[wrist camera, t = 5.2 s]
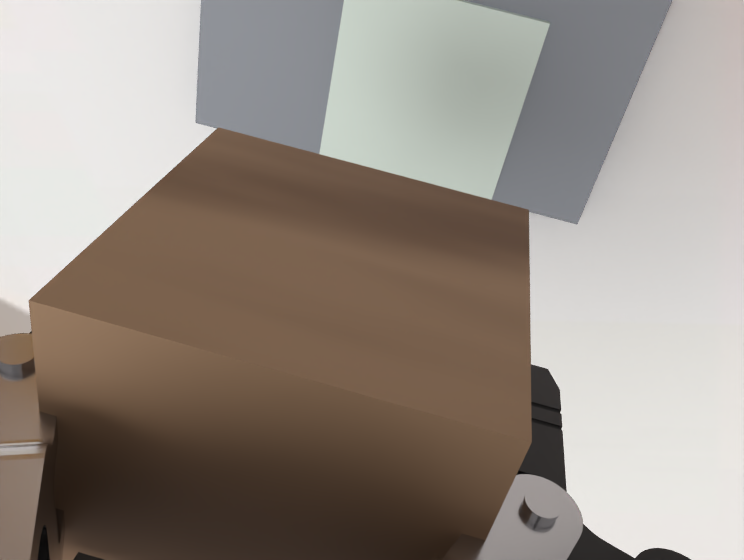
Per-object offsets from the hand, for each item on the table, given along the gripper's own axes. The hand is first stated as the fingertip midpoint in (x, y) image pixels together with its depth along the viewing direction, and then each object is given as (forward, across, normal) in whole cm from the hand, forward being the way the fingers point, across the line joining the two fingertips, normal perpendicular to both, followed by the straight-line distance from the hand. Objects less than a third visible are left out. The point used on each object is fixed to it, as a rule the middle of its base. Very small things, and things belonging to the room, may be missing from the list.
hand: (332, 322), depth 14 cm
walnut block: (+1, 0, 0) cm, 1 cm away
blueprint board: (+19, +1, -1) cm, 19 cm away
